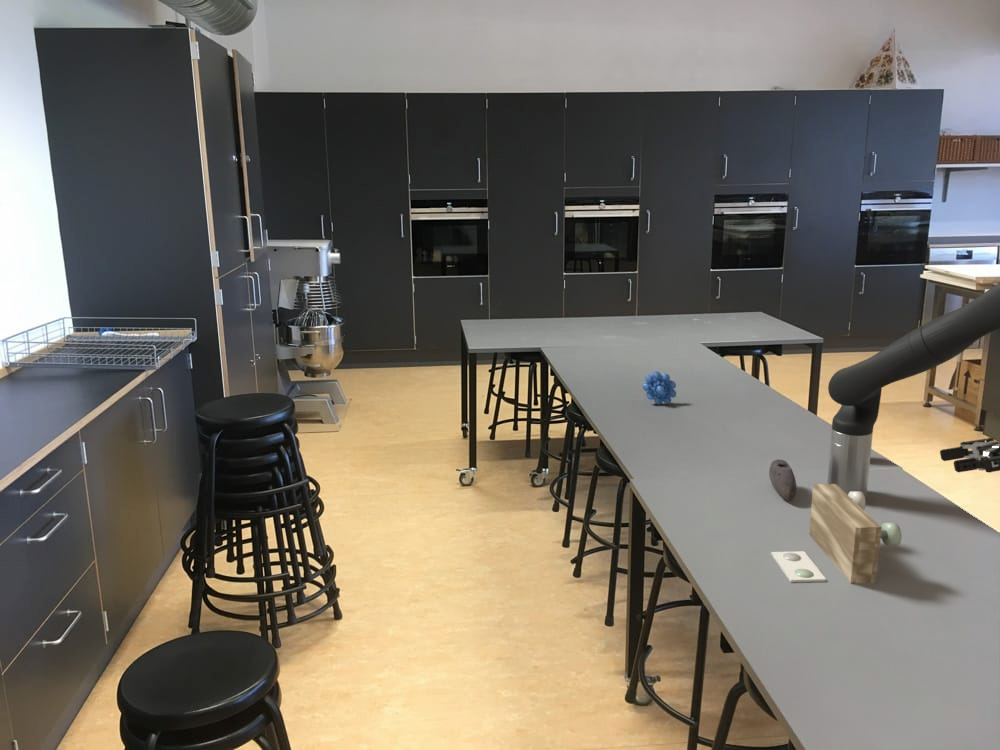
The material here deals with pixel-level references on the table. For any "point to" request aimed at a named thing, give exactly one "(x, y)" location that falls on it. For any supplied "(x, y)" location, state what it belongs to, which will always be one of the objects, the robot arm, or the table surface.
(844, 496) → the light wood rectangular block
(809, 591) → the table surface
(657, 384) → the blue bumpy cluster
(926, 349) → the robot arm
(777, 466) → the perforated stone tool
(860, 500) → the button white
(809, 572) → the pattern card
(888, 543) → the button sage
